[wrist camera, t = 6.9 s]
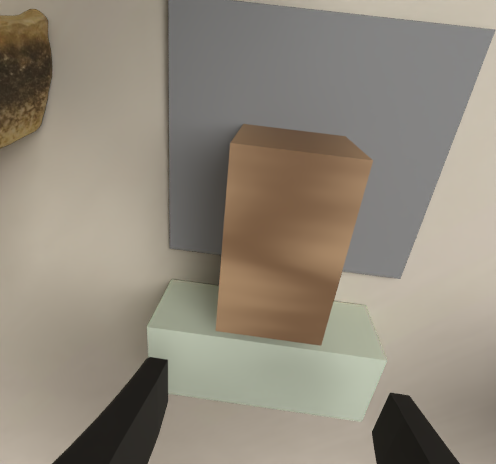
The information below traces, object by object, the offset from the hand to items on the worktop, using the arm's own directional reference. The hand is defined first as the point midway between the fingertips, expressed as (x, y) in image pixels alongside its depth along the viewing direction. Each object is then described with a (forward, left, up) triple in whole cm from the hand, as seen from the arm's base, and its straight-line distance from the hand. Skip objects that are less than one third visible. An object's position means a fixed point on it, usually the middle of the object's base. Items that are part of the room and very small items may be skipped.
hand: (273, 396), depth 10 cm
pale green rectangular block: (0, +2, -6) cm, 7 cm away
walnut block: (0, -1, -4) cm, 4 cm away
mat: (0, -7, -6) cm, 9 cm away
